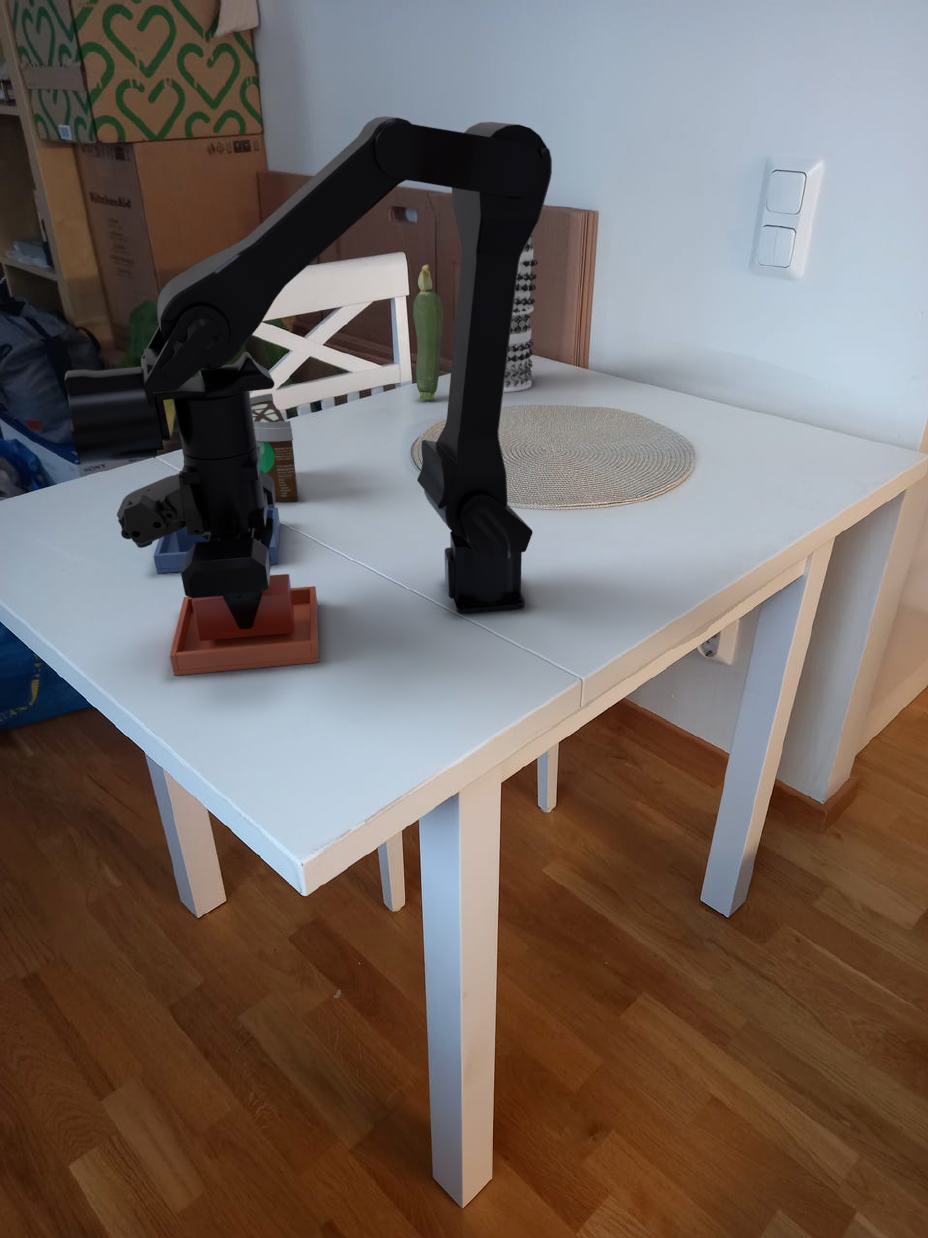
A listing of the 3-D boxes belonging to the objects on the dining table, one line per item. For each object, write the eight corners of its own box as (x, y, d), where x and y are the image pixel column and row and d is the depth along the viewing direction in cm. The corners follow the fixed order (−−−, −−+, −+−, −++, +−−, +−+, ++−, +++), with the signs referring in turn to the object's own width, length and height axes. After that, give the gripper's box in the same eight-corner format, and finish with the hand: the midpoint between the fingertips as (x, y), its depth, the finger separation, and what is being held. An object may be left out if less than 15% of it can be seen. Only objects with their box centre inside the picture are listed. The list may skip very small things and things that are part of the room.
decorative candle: (517, 373, 150) (520, 211, 137) (544, 387, 143) (550, 217, 130) (468, 380, 147) (466, 215, 134) (493, 395, 140) (494, 222, 127)
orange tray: (317, 604, 84) (315, 585, 83) (318, 662, 76) (316, 642, 75) (187, 615, 83) (183, 596, 82) (173, 675, 75) (169, 655, 74)
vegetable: (419, 394, 141) (414, 259, 130) (446, 395, 140) (443, 260, 130) (414, 403, 137) (408, 265, 126) (442, 404, 136) (439, 265, 126)
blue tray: (279, 523, 100) (277, 507, 99) (277, 564, 92) (275, 546, 91) (169, 531, 99) (166, 514, 98) (157, 573, 90) (153, 556, 89)
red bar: (294, 612, 81) (289, 573, 79) (293, 633, 78) (288, 593, 76) (203, 620, 80) (196, 581, 78) (199, 641, 77) (191, 601, 75)
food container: (232, 476, 112) (220, 397, 107) (281, 469, 114) (271, 391, 109) (247, 513, 102) (235, 429, 97) (300, 505, 104) (291, 422, 99)
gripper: (133, 415, 77) (167, 574, 85) (89, 501, 61) (135, 686, 70) (264, 407, 79) (285, 565, 87) (253, 489, 63) (280, 672, 71)
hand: (247, 616), depth 78 cm, fingers closed on red bar, 3 cm apart
